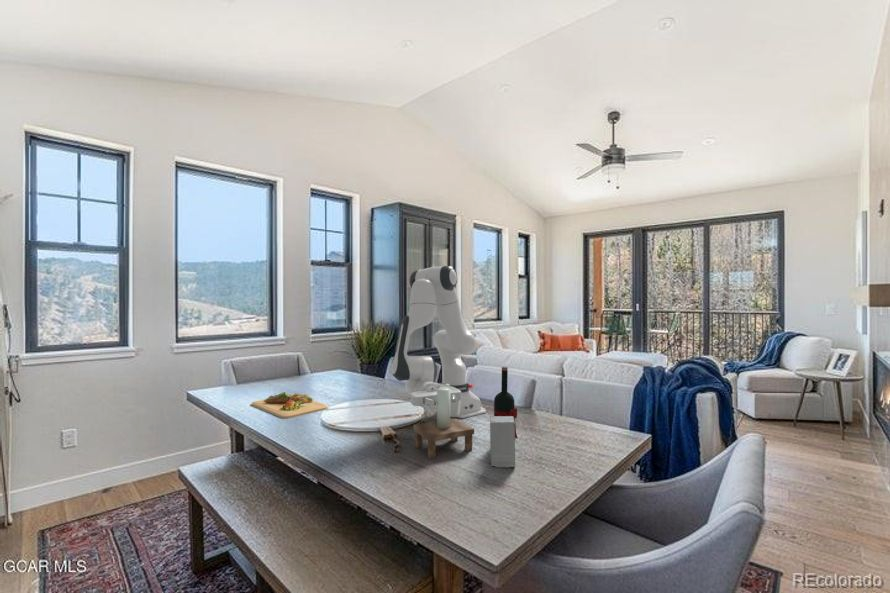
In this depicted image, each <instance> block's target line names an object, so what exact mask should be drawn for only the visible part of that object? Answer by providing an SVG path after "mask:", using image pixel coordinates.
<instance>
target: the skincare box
mask: <svg viewBox="0 0 890 593" xmlns="http://www.w3.org/2000/svg"><path fill="white" fill-rule="evenodd" d="M515 425H516V421H515V422H514V417H513V416H494V415H490V419H489V434H490V435H489V436H490V437H489V438H490V439H489V440H490V441H489V442H490V443H489V444H490V445H489V446H490V449H489V450H490V466H496V467H495V468H509V467H515V468H516V439H515Z"/></svg>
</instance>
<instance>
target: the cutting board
mask: <svg viewBox="0 0 890 593" xmlns="http://www.w3.org/2000/svg"><path fill="white" fill-rule="evenodd" d="M251 407H255V408H258V409H259V410H262V411H264V412H267V413H269V414H272V415H273V416H274V415H275V416H277V417H279V418H281V419H292V418H296V417H300V416H305V415H308V414H309V415H310V414H313V413H318V412H321V411H326V410H328V409H329V406H328V405H327V404H324V403H321V402H318V401H315V400H313V398H312V397H310V396H309V395H308V394H307V393H304V394H300V393H297V392H296V393H293V394H287V392H286V391H283V392H280V393H279V394H276V395H270V396H268V398H267V397H266V398H264V399H260V400H256V401H252V402H251Z"/></svg>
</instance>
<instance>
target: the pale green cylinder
mask: <svg viewBox="0 0 890 593" xmlns="http://www.w3.org/2000/svg"><path fill="white" fill-rule="evenodd" d="M450 419H451V417H450V388H447V387H441V388H437V404H436V421H437V428H440V429H447V428H450Z"/></svg>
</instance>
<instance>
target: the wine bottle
mask: <svg viewBox="0 0 890 593" xmlns="http://www.w3.org/2000/svg"><path fill="white" fill-rule="evenodd" d="M508 369H509V367H508V366H501V391H500V392H498V393H496V395H495V397H494V400H493V401H494V402H493V416H513V417H514V422H515V423H516V419H517V418H518V408H517V407H515V398H514V396H513V395H512V393H510V392H509V391H508V374H509V371H508ZM518 439H519V438H518V435H517V426H516V424H515V440H518Z"/></svg>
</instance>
